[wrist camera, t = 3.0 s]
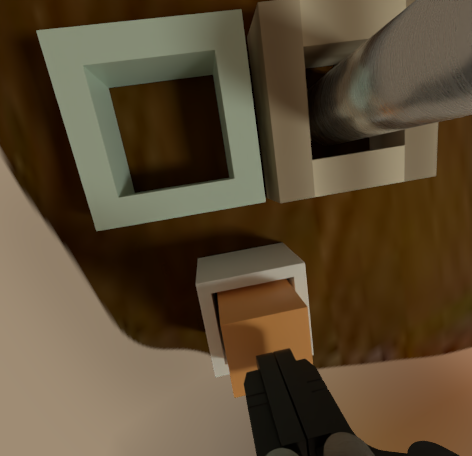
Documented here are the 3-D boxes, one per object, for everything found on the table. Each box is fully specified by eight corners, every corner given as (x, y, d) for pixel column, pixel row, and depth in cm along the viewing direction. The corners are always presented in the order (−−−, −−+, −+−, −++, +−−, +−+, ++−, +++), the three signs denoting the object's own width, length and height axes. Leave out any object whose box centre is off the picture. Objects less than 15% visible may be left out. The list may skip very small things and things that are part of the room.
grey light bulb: (357, 74, 15) (615, -93, 6) (359, 140, 16) (584, 93, 7) (295, 82, 15) (460, -80, 5) (302, 149, 16) (450, 114, 6)
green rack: (234, 42, 14) (241, 9, 11) (255, 196, 16) (265, 201, 13) (72, 61, 13) (35, 30, 10) (116, 220, 16) (96, 231, 13)
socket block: (397, 20, 15) (443, -17, 12) (397, 175, 17) (436, 175, 14) (247, 37, 14) (257, 2, 11) (267, 197, 16) (280, 203, 13)
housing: (282, 242, 17) (304, 262, 13) (291, 316, 19) (313, 354, 15) (197, 258, 17) (195, 284, 13) (213, 333, 18) (215, 377, 14)
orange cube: (283, 275, 14) (307, 306, 11) (290, 333, 15) (314, 378, 12) (216, 288, 14) (220, 325, 11) (227, 347, 15) (234, 397, 12)
